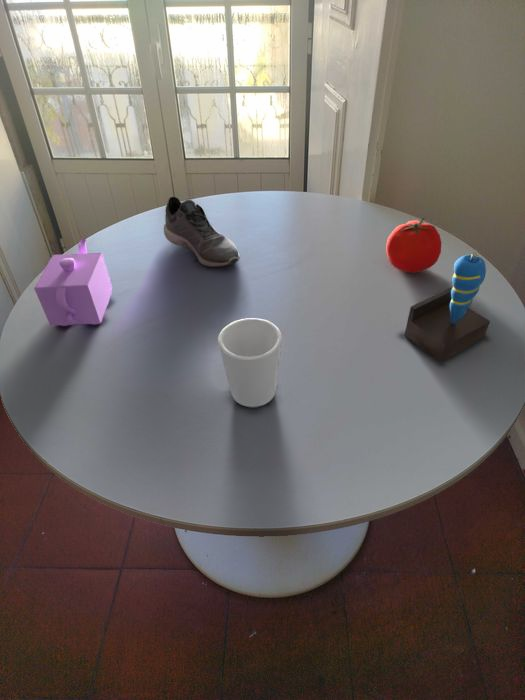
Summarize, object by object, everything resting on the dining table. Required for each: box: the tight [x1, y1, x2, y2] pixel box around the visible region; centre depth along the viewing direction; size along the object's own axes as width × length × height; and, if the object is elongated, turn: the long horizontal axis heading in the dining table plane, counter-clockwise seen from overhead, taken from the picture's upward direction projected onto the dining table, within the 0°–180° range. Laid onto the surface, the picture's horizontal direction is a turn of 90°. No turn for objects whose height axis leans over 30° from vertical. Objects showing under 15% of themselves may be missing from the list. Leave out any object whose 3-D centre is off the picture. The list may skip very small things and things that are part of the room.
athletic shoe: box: [163, 196, 241, 268], centre depth 113 cm, size 10×26×12 cm, turn 39°
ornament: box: [450, 250, 487, 324], centre depth 81 cm, size 5×5×15 cm
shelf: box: [404, 285, 491, 363], centre depth 87 cm, size 9×12×7 cm
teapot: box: [33, 238, 114, 327], centre depth 96 cm, size 20×10×12 cm, turn 2°
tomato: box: [385, 217, 442, 274], centre depth 104 cm, size 12×12×11 cm
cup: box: [217, 317, 283, 410], centre depth 76 cm, size 10×10×13 cm
